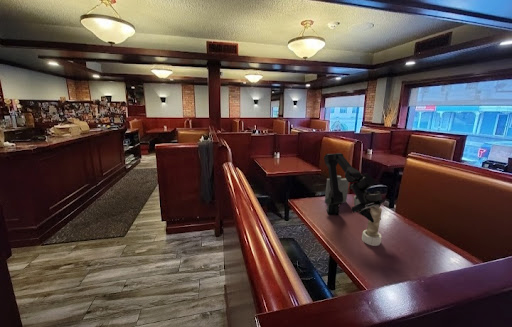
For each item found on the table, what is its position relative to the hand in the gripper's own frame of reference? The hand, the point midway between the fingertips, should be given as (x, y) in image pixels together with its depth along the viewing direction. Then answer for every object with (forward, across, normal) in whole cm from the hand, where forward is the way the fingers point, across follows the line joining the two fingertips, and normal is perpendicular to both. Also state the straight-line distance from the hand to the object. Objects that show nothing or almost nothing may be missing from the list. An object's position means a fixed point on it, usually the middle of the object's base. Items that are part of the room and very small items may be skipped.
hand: (376, 221), depth 113 cm
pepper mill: (+4, 0, +6) cm, 8 cm away
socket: (+8, 0, +9) cm, 12 cm away
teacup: (-12, +30, +30) cm, 44 cm away
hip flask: (-23, +20, +41) cm, 51 cm away
